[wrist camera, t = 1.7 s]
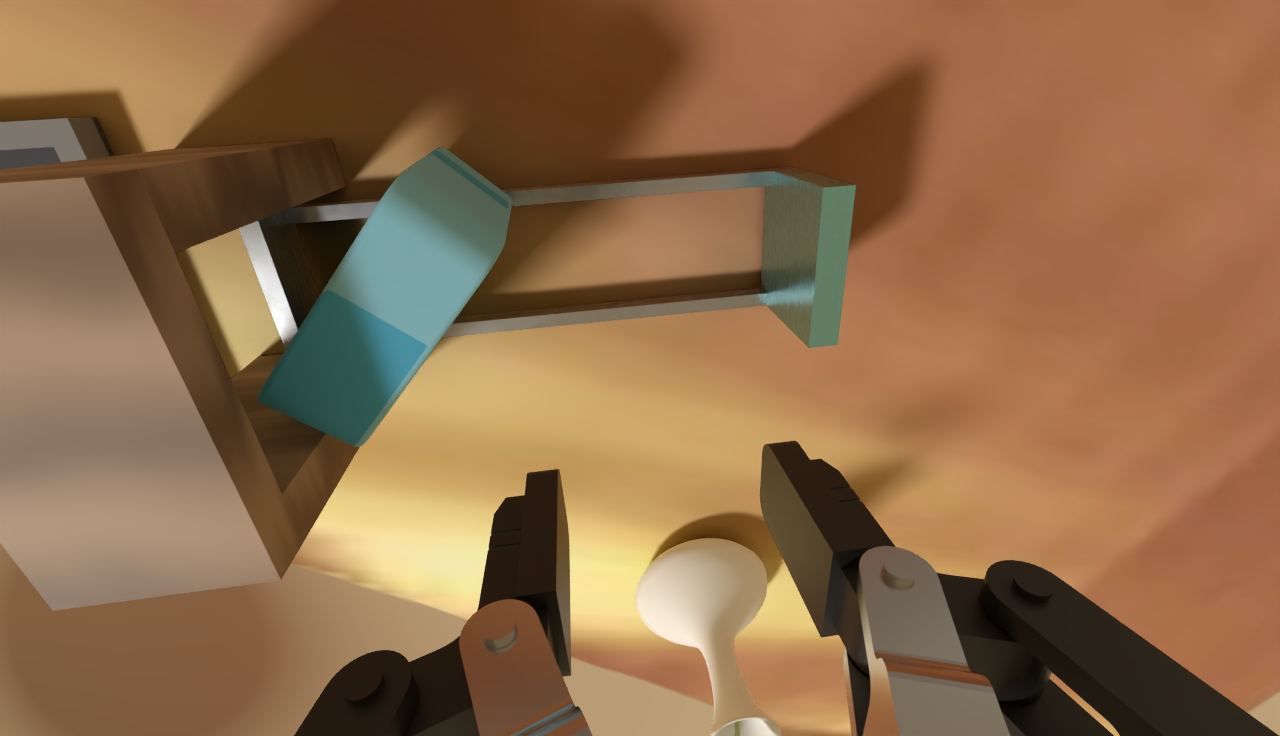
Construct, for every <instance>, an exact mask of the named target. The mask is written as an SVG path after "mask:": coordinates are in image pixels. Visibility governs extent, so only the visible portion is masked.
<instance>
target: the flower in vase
mask: <svg viewBox="0 0 1280 736" xmlns="http://www.w3.org/2000/svg"><path fill="white" fill-rule="evenodd" d="M766 593H767V573H766V569H765V566H764V564H763V562H762V561H761V559H760V558H759V557H758V556H757V555H756V554H755V553H754V552H753V551H751V550H750V549H748V548H747V547H745V546H742V545H740V544H738V543H736V542H733V541H730V540H726V539H720V538H702V539H695V540H691V541H687V542H684V543H681V544H678V545H676V546H674V547H672V548H670V549H668V550H667V551H665V552H663V553H662V554H661V555H659V556H658V557H657V558H656V559H655V560H653V561H652V563H651V564H650V565H649V566H648V567H647V569H646V570H645V572H644V573H643V575H642V576H641V578H640V580H639V582H638V584H637V588H636V591H635V604H636V608H637V611H638V613H639V615H640V617H641V618H642V620H643V621H644V622H645V624H646V625H647V627H648V628H649V629H651V630H652V631H653V632H654V633H656V634H657V635H659V636H661V637H663V638H665V639H667V640H669V641H671V642H674V643H677V644H681V645H686V646H691V647H697V648H699V649H700V651H701V652H702V653H703V656H704V658H705V660H706V663H707V667H708V670H709V674H710V679H711V684H712V691H713V698H714V720H713V726H712V730H711V733H710V735H709V736H781V735H782V731H781V728H780V726H779V725H778V723H777V722H776V721H775V720H773V719H772V718H770V717H769V716H768V715H766V714H765V713H764V712H763V711H762V710H761V709H760V707H759V706H758V705H757V703H756V702H755V701H754V699H753V697H752V695H751V693H750V692H749V690H748V688H747V685H746V683H745V681H744V679H743V676H742V674H741V671H740V668H739V665H738V662H737V659H736V655H735V651H734V638H735V636H736V635H738V634H739V633H740V632H741V631H742V630H743V629H744V628H745V627H746V626H747V625H748V624H749V623H750V622H751V621H752V620H753V619H754V617H755V616H756V614H757V613H758V611H759V610H760V608H761V606H762V605H763V602H764V600H765V597H766Z"/></svg>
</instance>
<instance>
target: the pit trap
mask: <svg viewBox="0 0 1280 736" xmlns="http://www.w3.org/2000/svg"><path fill="white" fill-rule="evenodd" d="M111 156H114V155H113V153H112V151H111V148H110V146H109V144H108V142H107V140H106V138H105V135H104V133H103V131H102V129H101V127H100V125H99V122H98V120H97V118H96V117H85V118H61V119H44V120H28V121H11V122H0V170H3V169H11V168H20V167H28V166H36V165H44V164H53V163H61V162H69V161H78V160H86V159H94V158H102V157H111Z"/></svg>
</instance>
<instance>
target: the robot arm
mask: <svg viewBox="0 0 1280 736" xmlns="http://www.w3.org/2000/svg"><path fill="white" fill-rule="evenodd" d="M760 502H761V509H762V513H763V516H764V519H765V522H766V524H767V526H768V528H769V530H770V532H771V534H772V536H773V538H774V540H775V543H776V545H777V547H778V549H779V551H780V553H781V555H782V557H783V559H784V561H785V563H786V565H787V567H788V570H789V572H790V574H791V576H792V578H793V580H794V582H795V584H796V586H797V588H798V590H799V592H800V594H801V597H802V599H803V601H804V603H805V605H806V607H807V609H808V611H809V613H810V615H811V617H812V619H813V621H814V624H815V626H816V628H817V630H818V632H819V634H820V636H821V637H827V636H834V635H839V636H840V638H841V640H842V642H843V643H844V645H845V650H844V656H843V665H844V674H845V682H846V691H847V699H848V708H849V717H850V725H851V734H852V736H1114V735H1113V734H1111V733H1110V732H1109V731H1108V730H1107V729H1106V728H1105V727H1104V726H1102V725H1101V724H1100V723H1099V722H1098V721H1097V720H1096V719H1094V718H1093V717H1092V716H1091V715H1090V714H1089V713H1088V712H1087V711H1085V710H1084V709H1083V708H1082V707H1081V706H1080V705H1079V704H1077V703H1076V702H1075V701H1074V700H1073V699H1072V698H1071V697H1070V696H1068V695H1067V694H1066V693H1065V692H1064V691H1063V690H1062V689H1061V688H1059V687H1058V686H1057V685H1056V684H1055V683H1054V682H1053V681H1051V680H1050V679H1049V678H1050V675H1051V673H1054V674H1055V675H1056V676H1057V677H1058V678H1059V679H1061V680H1062V681H1063V682H1064V683H1065V684H1066V685H1067V686H1069V687H1070V688H1071V689H1072V690H1073V691H1074V692H1075V693H1077V694H1078V695H1079V696H1080V697H1081V698H1082V699H1083V700H1085V701H1086V702H1087V703H1088V704H1089V705H1090V706H1092V707H1093V708H1094V709H1095V710H1096V711H1097V712H1098V713H1100V714H1101V715H1102V716H1103V717H1104V718H1105V719H1106V720H1107V721H1109V722H1110V723H1111V724H1112V726H1113V727H1114V728H1115V729H1116V730H1117V732H1118V733H1119V735H1120V736H1278V735H1277V734H1276V733H1274V732H1273V731H1272V730H1270V729H1269V728H1268V727H1266V726H1265V725H1263V724H1262V723H1261V722H1259V721H1258V720H1256V719H1255V718H1254V717H1252V716H1251V715H1249V714H1248V713H1247V712H1245V711H1244V710H1242V709H1241V708H1240V707H1238V706H1237V705H1235V704H1234V703H1233V702H1231V701H1230V700H1229V699H1227V698H1226V697H1224V696H1223V695H1222V694H1220V693H1219V692H1217V691H1216V690H1215V689H1213V688H1212V687H1210V686H1209V685H1208V684H1206V683H1205V682H1203V681H1202V680H1201V679H1199V678H1198V677H1196V676H1195V675H1194V674H1192V673H1191V672H1189V671H1188V670H1187V669H1185V668H1184V667H1182V666H1181V665H1180V664H1178V663H1177V662H1176V661H1174V660H1173V659H1171V658H1170V657H1169V656H1167V655H1166V654H1164V653H1163V652H1162V651H1160V650H1159V649H1157V648H1156V647H1155V646H1153V645H1152V644H1150V643H1149V642H1148V641H1146V640H1145V639H1143V638H1142V637H1141V636H1139V635H1138V634H1136V633H1135V632H1134V631H1132V630H1131V629H1129V628H1128V627H1127V626H1125V625H1124V624H1122V623H1121V622H1120V621H1118V620H1117V619H1116V618H1114V617H1113V616H1111V615H1110V614H1109V613H1107V612H1106V611H1104V610H1103V609H1102V608H1100V607H1099V606H1097V605H1096V604H1095V603H1093V602H1092V601H1090V600H1089V599H1088V598H1086V597H1085V596H1083V595H1082V594H1081V593H1079V592H1078V591H1076V590H1075V589H1074V588H1072V587H1071V586H1069V585H1068V584H1067V583H1065V582H1064V581H1063V580H1061V579H1060V578H1058V577H1057V576H1055V575H1054V574H1052V573H1051V572H1049V571H1047V570H1045V569H1043V568H1041V567H1038V566H1036V565H1033V564H1030V563H1026V562H1022V561H1014V560H1005V561H1000V562H996V563H994V564H993V565H991V566H990V567H989V568H988V570H987V572H986V576H985V579H977V578H969V577H961V576H953V575H946V574H940V573H937V572H935V570H934V569H933V567H932V566H931V565H930V564H929V563H928V562H927V561H925V560H924V559H923V558H921V557H920V556H918V555H916V554H914V553H913V552H910V551H908V550H905V549H902V548H898V547H895V545H894V544H893V543H892V541H891V540H890V539H889V537H888V536H887V535H886V533H885V532H884V531H883V529H882V528H881V527H880V525H879V524H878V523H877V521H876V520H875V519H874V517H873V516H872V515H871V513H870V512H869V511H868V509H867V508H866V507H865V505H864V504H863V503H862V502H860V500H859V497H858V496H857V495H856V493H855V492H854V491H853V489H851V488H850V485H849V484H848V482H847V481H846V480H845V478H844V477H843V476H842V474H841V473H840V472H839V471H838V470H837V469H835V468H834V467H832V466H831V465H829V464H828V463H826V462H825V461H823V460H822V459H815V460H810V459H809V458H808V456H807V455H806V453H805V452H804V450H803V449H802V448H801V446H800V445H799V443H798V442H797V441H789V442H781V443H773V444H765V445H764V447H763V451H762V468H761V486H760ZM570 675H571V638H570V562H569V533H568V523H567V516H566V509H565V503H564V496H563V489H562V483H561V476H560V471H559V469H555V470H547V471H538V472H530V473H527V478H526V489H525V495H524V496H516V497H508V498H505V500H504V501H503V503H502V504H501V505H500V507H499V508H498V510H497V511H496V512H495V514H494V518H493V524H492V530H491V536H490V542H489V551H488V554H487V560H486V566H485V572H484V578H483V584H482V590H481V596H480V601H479V607H478V611H477V612H476V613H475V614H473V615H472V616H471V617H470V619H469V620H468V621H467V622H466V624H465V625H464V627H463V629H462V631H461V635H460V636H459V637H458V638H457V639H456V640H454V641H453V642H451V643H450V644H448V645H446V646H445V647H443V648H441V649H439V650H436V651H434V652H432V653H429V654H427V655H425V656H423V657H420V658H418V659H416V660H413V661H411V662H408V660H407V659H406V658H405V657H404V656H403V655H401V654H400V653H398V652H395V651H390V650H381V651H375V652H371V653H368V654H365V655H363V656H361V657H359V658H357V659H355V660H353V661H351V662H350V663H349V664H347V665H346V666H345V667H343V668H342V669H341V670H340V671H339V672H338V673H337V674H336V675H335V676H334V677H333V678H332V679H331V680H330V682H329V683H328V684H327V686H326V687H325V689H324V690H323V692H322V693H321V695H320V697H319V698H318V700H317V701H316V703H315V704H314V706H313V707H312V709H311V710H310V712H309V714H308V715H307V717H306V718H305V720H304V721H303V723H302V724H301V726H300V727H299V729H298V731H297V732H296V734H295V735H294V736H592V734H591V732H590V729H589V727H588V724H587V722H586V720H585V717H584V716H583V713H582V711H581V710H580V708H579V707H578V706H577V707H575V705H574V704H573V701H572V699H571V697H570V694H569V692H568V689H567V687H566V684H565V682H564V679H563V676H570Z"/></svg>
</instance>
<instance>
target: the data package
mask: <svg viewBox="0 0 1280 736" xmlns="http://www.w3.org/2000/svg"><path fill="white" fill-rule="evenodd" d="M511 207H512V198H511V197H510V196H509V195H507V194H506V193H505V192H503V191H502V190H501V189H499V188H498V187H497V186H495V185H494V184H493V183H491V182H490V181H489V180H487V179H486V178H485V177H483V176H482V175H481V174H479V173H478V172H477V171H475V170H474V169H473V168H471V167H470V166H469V165H467V164H466V163H465V162H463V161H462V160H461V159H459V158H458V157H457V156H455V155H454V154H453V153H451V152H450V151H449V150H447V149H446V148H445V147H439V148H437V149H436V150H434V151H433V152H431V153H430V154H428V155H427V156H425V157H424V158H422V159H421V160H419V161H418V162H416V163H415V164H413V165H412V166H410V167H409V168H407V169H406V170H405V171H403V172H402V173H401V174H400V175H399V176H398V177H397V178H396V179H395V181H394V182H393V183H392V184H391V186H390V187H389V188H388V190H387V191H386V193H385V194H384V195H383V197H382V198H381V200H380V201H379V203H378V204H377V206H376V207H375V209H374V210H373V212H372V214H371V215H370V217H369V218H368V220H367V221H366V223H365V225H364V226H363V228H362V229H361V231H360V233H359V234H358V236H357V237H356V239H355V241H354V242H353V244H352V245H351V247H350V248H349V250H348V252H347V253H346V255H345V256H344V258H343V260H342V261H341V263H340V264H339V266H338V267H337V269H336V271H335V272H334V274H333V275H332V277H331V279H330V280H329V282H328V283H327V285H326V287H325V288H324V290H323V291H322V293H321V294H320V296H319V298H318V299H317V301H316V302H315V304H314V306H313V307H312V309H311V310H310V312H309V314H308V315H307V317H306V318H305V320H304V321H303V323H302V325H301V326H300V328H299V329H298V331H297V333H296V334H295V336H294V337H293V339H292V340H291V342H290V344H289V345H288V347H287V348H286V350H285V352H284V353H283V355H282V356H281V358H280V360H279V361H278V363H277V364H276V366H275V367H274V369H273V371H272V372H271V374H270V375H269V377H268V379H267V380H266V382H265V383H264V385H263V387H262V388H261V390H260V392H259V394H258V401H259V402H260V403H261V404H263V405H265V406H268V407H270V408H272V409H274V410H276V411H278V412H281V413H283V414H285V415H287V416H289V417H291V418H294V419H296V420H298V421H300V422H302V423H304V424H307V425H309V426H311V427H313V428H315V429H317V430H320V431H322V432H324V433H326V434H328V435H330V436H333V437H335V438H337V439H339V440H341V441H343V442H346V443H348V444H350V445H352V446H354V447H359V446H362V445H363V444H364V443H365V442H366V441H367V440H368V439H369V437H370V436H371V435H372V433H373V432H374V431H375V429H376V428H377V426H378V425H379V424H380V422H381V421H382V420H383V418H384V417H385V415H386V414H387V413H388V411H389V410H390V409H391V407H392V406H393V404H394V403H395V402H396V400H397V399H398V397H399V396H400V395H401V393H402V392H403V391H404V389H405V388H406V386H407V385H408V384H409V382H410V381H411V380H412V378H413V377H414V375H415V374H416V373H417V371H418V370H419V369H420V367H421V366H422V364H423V363H424V362H425V360H426V359H427V357H428V356H429V355H430V353H431V352H432V351H433V349H434V348H435V346H436V345H437V344H438V342H439V341H440V340H441V338H442V337H443V335H444V334H445V333H446V331H447V330H448V328H449V327H450V326H451V324H452V323H453V322H454V320H455V319H456V317H457V316H458V315H459V313H460V312H461V311H462V309H463V308H464V306H465V305H466V304H467V302H468V301H469V300H470V298H471V297H472V295H473V294H474V293H475V291H476V290H477V288H478V287H479V286H480V284H481V283H482V282H483V280H484V279H485V277H486V276H487V274H488V273H489V271H490V270H491V268H492V267H493V265H494V264H495V262H496V260H497V259H498V257H499V255H500V253H501V251H502V249H503V247H504V245H505V241H506V235H507V229H508V224H509V218H510V212H511Z"/></svg>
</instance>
